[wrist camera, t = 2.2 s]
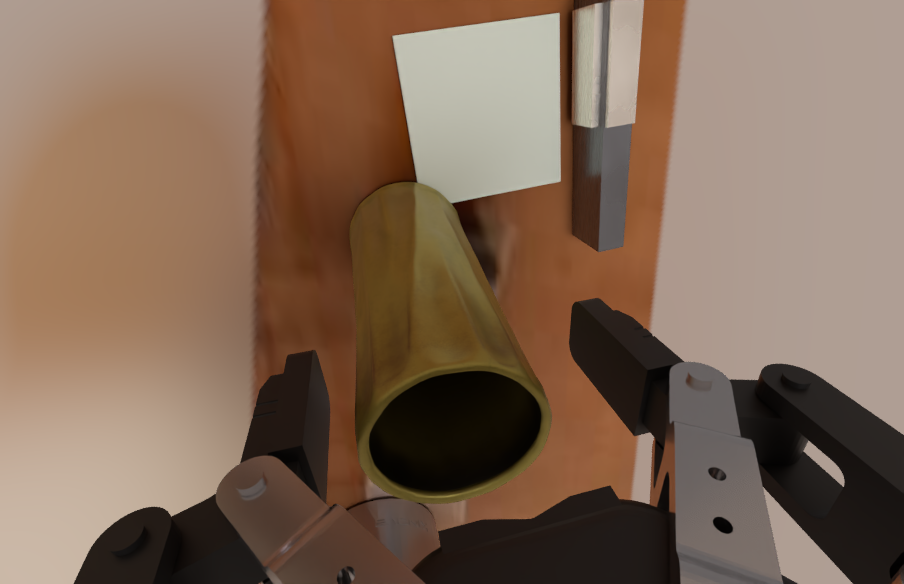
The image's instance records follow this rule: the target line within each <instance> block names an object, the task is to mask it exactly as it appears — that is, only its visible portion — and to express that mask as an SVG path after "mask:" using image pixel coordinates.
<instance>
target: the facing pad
mask: <svg viewBox="0 0 904 584" xmlns="http://www.w3.org/2000/svg"><path fill="white" fill-rule="evenodd" d="M392 39H393V45H394V51H395V57H396V62H397V68H398V74H399V80H400V86H401V91H402V97H403V103H404V109H405V115H406V120H407V126H408V132H409V138H410V144H411V150H412V155H413V161H414V167H415V173H416V179H417V183H420V184H423V185H427V186H429V187H431V188H433V189H435V190H437V191H438V192H440V193H441V194H442V195H443V196H444V197H445V198H446V199H447V200H448V201H449V202H450V203H454V202H459V201H464V200H469V199H474V198H479V197H484V196H490V195H495V194H500V193H505V192H510V191H515V190H520V189H525V188H530V187H535V186H540V185H545V184H550V183H555V182H560V181H561V167H560V18H559V13H554V14H547V15H540V16H533V17H525V18H518V19H511V20H504V21H497V22H489V23H482V24H475V25H468V26H460V27H453V28H446V29H439V30H431V31H424V32H417V33H410V34H403V35H395V36H392Z"/></svg>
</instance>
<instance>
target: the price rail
mask: <svg viewBox="0 0 904 584" xmlns="http://www.w3.org/2000/svg"><path fill="white" fill-rule="evenodd" d="M643 6H644V0H574V10H573V11H572V124H573V235H574V236H575V237H577V238H578V239H580V240H581V241H583V242H584V243H586V244H587V245H589V246H590V247H592V248H593V249H595V250H596V251H598V252H601V251H606V250H610V249H615V248H619V247H623V242H624V228H625V214H626V200H627V186H628V172H629V157H630V143H631V129H632V123H635V114H636V100H637V87H638V73H639V60H640V46H641V33H642V19H643Z"/></svg>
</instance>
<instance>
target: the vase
mask: <svg viewBox="0 0 904 584" xmlns="http://www.w3.org/2000/svg"><path fill="white" fill-rule="evenodd" d="M349 239H350V247H351V252H352V272H353V284H354V297H355V315H356V326H357V334H356V398H355V434H356V442H357V450H358V460H359V463H360V466H361V468H362V470H363V471H364V472H365V473H366V475H367V476H368V477H369V479H370V480H371V481H372V482H373V483H374V484H376V485H377V486H378V487H379V488H381V489H382V490H383V491H385V492H387V493H389V494H391V495H392V496H394V497H397V498H400V499H403V500H407V501H412V502H417V503H431V504H443V503H453V502H458V501H462V500H466V499H469V498H473V497H476V496H479V495H482V494H485V493H488V492H490V491H492V490H495V489H497V488H499V487H500V486H502V485H503V484H505V483H507V482H508V481H510V480H511V479H513V478H515V477H516V476H518V475H519V474H521V473H522V472H523V471H525V470H526V469H527V468H528V467H529V466H530V465H531V464H532V463H533V462H534V460H535V459H536V458H537V457H538V456H539V454H540V453H541V451H542V449H543V447H544V445H545V443H546V441H547V437H548V434H549V431H550V427H551V421H552V414H551V408H550V405H549V402H548V399H547V397H546V395H545V392H544V389H543V387H542V385H541V383H540V381H539V380H538V378H537V377H536V375H535V374H534V372H533V370H532V368H531V366H530V365H529V363H528V361H527V359H526V357H525V355H524V353H523V351H522V349H521V347H520V345H519V343H518V342H517V340H516V337H515V335H514V333H513V331H512V329H511V327H510V325H509V323H508V321H507V319H506V317H505V315H504V313H503V311H502V309H501V307H500V305H499V303H498V301H497V299H496V297H495V295H494V292H493V290H492V288H491V286H490V284H489V283H488V281H487V279H486V277H485V274H484V272H483V270H482V268H481V266H480V263H479V261H478V259H477V257H476V255H475V253H474V251H473V249H472V247H471V245H470V243H469V241H468V240H467V237H466V235H465V233H464V231H463V229H462V226H461V224H460V220H459V217H458V214H457V211H456V210H455V208H454V207H453V205H452V204H451V203H450V202H449V201H448V200H447V199H446V198H445V197H444V196H443V195H442V194H441V193H440V192H438V191H437V190H435V189H433V188H431V187H429V186H427V185H423V184H420V183H415V182H400V183H394V184H389V185H386V186H384V187H381V188H380V189H378V190H376V191H375V192H374V193H372V194H371V195H369V196H368V197H367V198H366V199H365V200H364V201H363V202H362V203H361V204H360V205H359V206H358V208H357V210H356V212H355V214H354V216H353V218H352V221H351V224H350V230H349Z"/></svg>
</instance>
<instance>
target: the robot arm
mask: <svg viewBox="0 0 904 584" xmlns="http://www.w3.org/2000/svg"><path fill="white" fill-rule="evenodd" d="M569 347H570V351H571V355H572V357H573V359H574V361H575V362H576V363H577V365H578V366H579V367H580V368H581V370H582V371H583V372H584V373H585V375H586V376H587V377H588V378H589V380H590V381H591V382H592V383H593V385H594V386H595V387H596V388H597V390H598V391H599V392H600V394H601V395H602V396H603V397H604V399H605V400H606V401H607V402H608V404H609V405H610V406H611V407H612V409H613V410H614V411H615V412H616V414H617V415H618V416H619V417H620V419H621V420H622V421H623V423H624V424H625V425H626V426H627V428H628V429H629V430H630V431H631V433H632V434H633V435H634V436H637V435H641V434H645V433H649V432H650V433H651V434H652V435H653V436H654V441H653V446H652V467H651V490H650V504H646V503H642V502H638V501H633V500H624V499H618V497H617V496H616V494H615V492H614V491H613V489H612V488H611V486H606V487H603V488H599V489H595V490H592V491H588V492H584V493H580V494H577V495H573V496H570V497H568V498H566V499H565V500H563V501H561V502H560V503H558V504H556V505H555V506H553V507H551V508H550V509H548V510H547V511H545V512H543V513H542V514H540V515H538V516H537V517H535V518H532V519H496V520H479V521H476V522H472V523H468V524H464V525H461V526H457V527H453V528H450V529H446V530H442V531H438V533H439V539H438V534H437V530H436V525H435V521H434V518H433V516H432V514H431V513H430V512H429V510H428V509H426V508H425V507H424V506H422V505H420V504H418V503H416V502H412V501H407V500H403V499H381V500H375V501H371V502H367V503H363V504H361V505H358V506H356V507H353V508H351V509H350V510H348V511H347V510H345V509H344V508H343V507H342V506H340V505H338V504H334V505H333V506H332V507H329V506H328V505H327V504H326V495H327V472H328V449H329V425H330V402H329V395H328V391H327V387H326V384H325V380H324V377H323V373H322V370H321V366H320V363H319V359H318V356H317V353H316V351H315V350H312V351H306V352H301V353H296V354H290V355H288V356H287V359H286V364H285V369H284V374H279V375H273V376H270V378H269V379H268V380H267V381H266V383H265V384H264V385H263V386H262V388H261V389H260V391H259V395H258V399H257V402H256V407H255V410H254V413H253V419H252V421H251V425H250V428H249V432H248V436H247V440H246V443H245V447H244V451H243V455H242V459H241V462H240V464H239V465H237V466H236V467H234V468H233V469H232V470H231V471H230V472H229V473H228V474H227V475H226V476H225V477H224V478H223V479H222V481H221V483H220V484H219V486H218V488H217V492H216V494H215V495H213V496H212V497H210V498H208V499H206V500H205V501H203V502H201V503H199V504H197V505H194V506H192V507H190V508H188V509H186V510H184V511H182V512H180V513H178V514H176V515H174V516H172V517H171V516H170V514H169V513H168V511H166V510H165V509H163V508H160V507H148V508H143V509H140V510H137V511H134V512H132V513H130V514H128V515H126V516H124V517H123V518H121V519H119V520H118V521H117V522H115V523H114V524H113V525H111V526H110V527H109V528H108V529H107V530H105V532H104V533H102V534H101V535H100V537H99V538H98V539H97V540H96V541H95V543H94V544H93V546H92V547H91V549H90V551H89V553H88V554H87V557H86V559H85V561H84V563H83V565H82V567H81V569H80V571H79V573H78V576H77V578H76V580H75V582H74V584H258V583H260V582H261V584H797V583H795V582H794V581H792V580H790V579H788V578H787V577H785V576H783V575H781V572H780V567H779V562H778V557H777V553H776V548H775V543H774V538H773V534H772V529H771V524H770V519H769V515H768V510H767V505H766V500H765V495H764V491H763V487H764V488H765V489H766V490H767V492H769V494H770V495H771V496H772V497H773V498H774V499H775V500H776V501H777V502H778V503H779V504H780V506H781V507H782V508H783V509H784V510H785V511H786V512H787V513H788V514H789V515H790V516H791V517H792V518H793V519H794V520H795V521H796V523H797V524H798V525H799V526H800V527H801V528H802V529H803V530H804V531H805V532H806V533H807V534H808V536H810V538H811V539H812V540H813V541H814V542H815V543H816V544H817V545H818V546H819V547H820V549H821V550H822V551H823V552H824V553H825V554H826V555H827V556H828V557H829V558H830V559H831V560H832V561H833V562H834V563H835V565H836V566H837V567H838V568H839V569H840V570H841V571H842V572H843V573H844V574H845V575H846V576H847V578H848V579H849V580H850V581H851V582H852V583H853V584H904V435H903V434H901V433H900V432H898V431H897V430H895V429H894V428H893V427H891V426H890V425H888V424H887V423H885V422H884V421H882V420H881V419H879V418H878V417H877V416H875V415H874V414H872V413H871V412H869V411H868V410H867V409H865V408H863V407H862V406H861V405H859V404H858V403H857V402H855V401H854V400H852V399H851V398H849V397H848V396H846V395H845V394H844V393H842V392H840V391H839V390H838V389H836V388H835V387H833V386H832V385H831V384H829V383H827V382H826V381H825V380H823V379H822V378H820V377H819V376H817V375H816V374H814V373H812V372H810V371H808V370H805V369H803V368H800V367H796V366H793V365H787V364H771V365H767V366H765V367H764V368H763V369H762V371H761V374H760V376H759V379H758V380H729V379H728V378H727V377H726V376H725V375H724V374H723V373H722V372H720V371H719V370H717V369H715V368H713V367H711V366H708V365H705V364H701V363H696V362H684V361H683V360H682V359H680V358H679V357H678V356H677V355H676V354H674V353H673V352H672V351H671V350H670V349H669V348H668V347H666V346H665V345H664V344H663V343H662V342H660V341H659V340H658V339H657V338H656V337H655V336H654V337H653V336H652V334H651V333H650V332H649V331H648V330H647V329H644V328H643V326H642V325H641V324H640V323H638V322H637V321H636V320H635V319H634V318H633V317H631V316H629V315H626V314H624V313H622V312H620V311H618V310H614V311H613V310H612V309H611V308H610V307H609V306H608V305H606V304H605V303H604V302H603V301H602V300H601V299H599V298H595V299H589V300H584V301H579V302H575V303H574V304H573V306H572V313H571V326H570V338H569ZM808 440H809V441H810V442H811V443H812V444H814V445H815V446H816V447H817V448H818V449H819V450H821V451H822V452H823V453H824V454H825V455H826V456H828V457H829V458H830V459H831V460H832V461H833V462H834V463H836V465H837V466H838V467H839V468H840V470H841V471H842V473H843V475H844V479H845V485H844V487H842V485H840V484H839V483H838V482H837V481H836V480H835V479H833V478H832V477H831V476H830V475H829V474H828V473H827V472H826V471H825V470H823V469H822V468H821V467H820V466H819V465H818V464H817V463H816V462H815V461H813V460H812V459H811V458H810V457H809V456H808V455H807V454H806V453H805V452H803V450H804V448H805V446H806V444H807V442H808ZM439 540H440V544H439Z"/></svg>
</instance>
